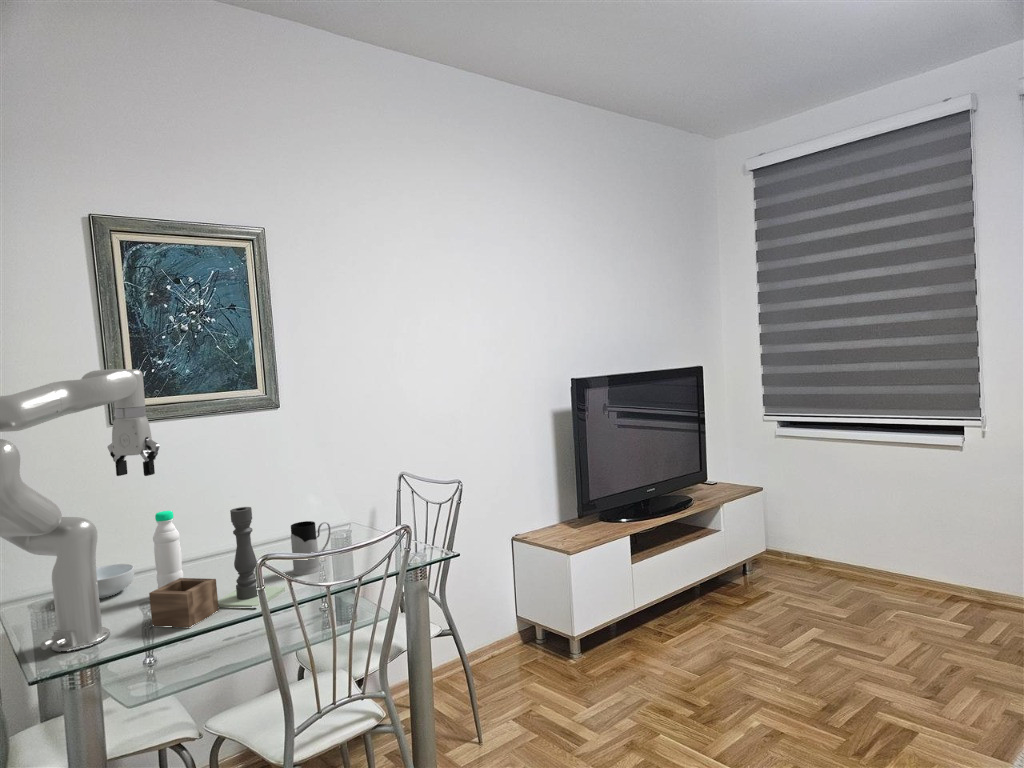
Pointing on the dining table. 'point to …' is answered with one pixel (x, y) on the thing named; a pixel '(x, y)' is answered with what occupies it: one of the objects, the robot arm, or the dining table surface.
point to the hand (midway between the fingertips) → (135, 475)
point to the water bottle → (167, 549)
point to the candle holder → (244, 553)
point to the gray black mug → (306, 546)
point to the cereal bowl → (113, 578)
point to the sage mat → (234, 602)
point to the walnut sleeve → (183, 602)
